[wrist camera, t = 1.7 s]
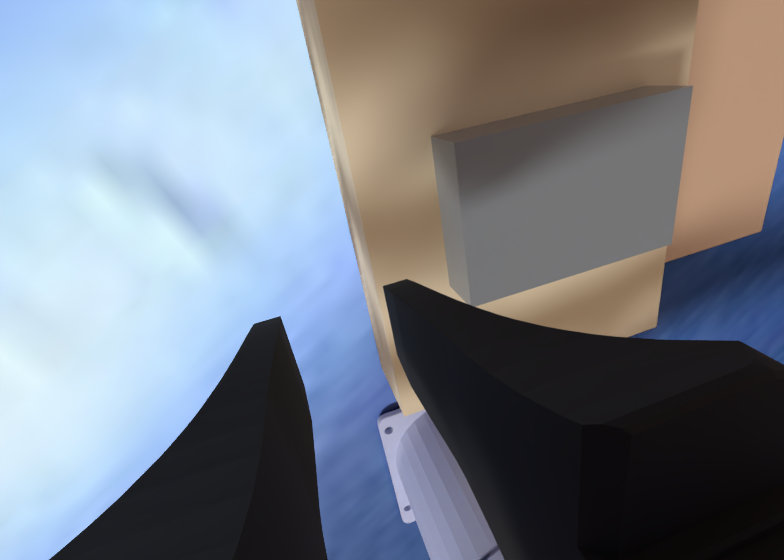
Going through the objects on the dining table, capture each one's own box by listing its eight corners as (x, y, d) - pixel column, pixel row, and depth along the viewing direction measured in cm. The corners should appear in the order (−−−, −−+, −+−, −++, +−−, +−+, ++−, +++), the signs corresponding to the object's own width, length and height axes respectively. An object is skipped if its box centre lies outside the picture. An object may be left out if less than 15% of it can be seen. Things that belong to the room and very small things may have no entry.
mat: (756, 229, 27) (761, 231, 27) (609, 277, 25) (613, 279, 25) (828, -85, 20) (836, -88, 20) (632, -54, 18) (637, -55, 18)
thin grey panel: (633, 229, 19) (671, 244, 18) (449, 286, 18) (471, 308, 16) (646, 85, 17) (693, 85, 15) (430, 136, 15) (454, 143, 13)
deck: (601, 294, 26) (656, 326, 22) (381, 367, 23) (404, 416, 20) (623, -82, 18) (715, -122, 14) (288, -31, 15) (299, -67, 12)
